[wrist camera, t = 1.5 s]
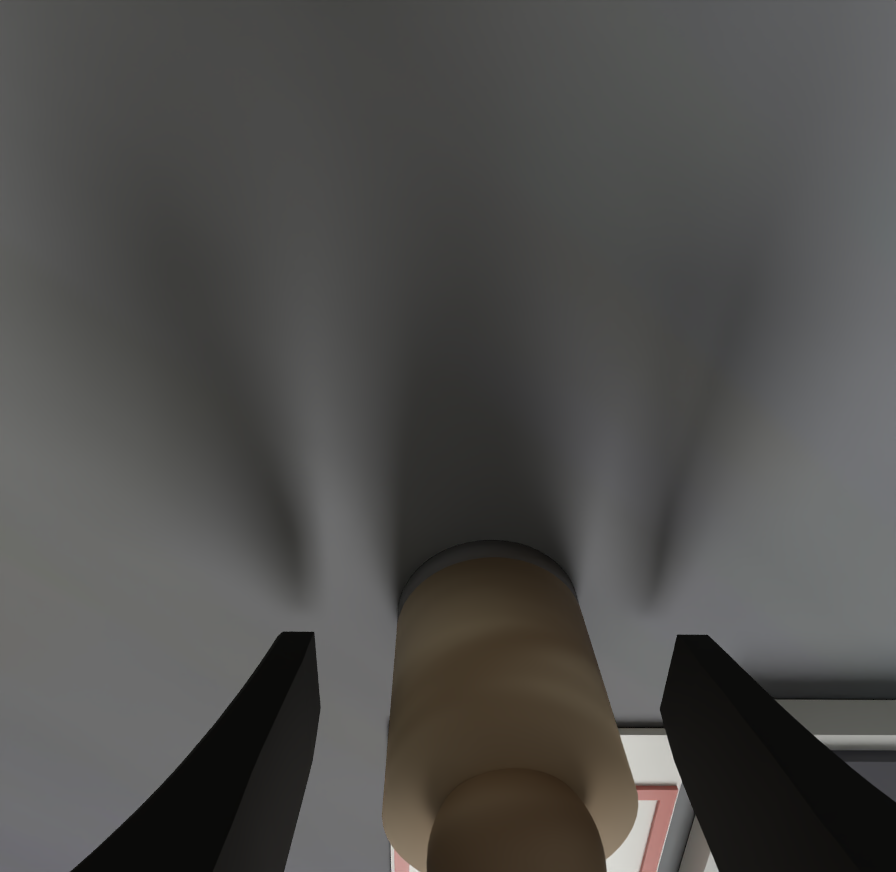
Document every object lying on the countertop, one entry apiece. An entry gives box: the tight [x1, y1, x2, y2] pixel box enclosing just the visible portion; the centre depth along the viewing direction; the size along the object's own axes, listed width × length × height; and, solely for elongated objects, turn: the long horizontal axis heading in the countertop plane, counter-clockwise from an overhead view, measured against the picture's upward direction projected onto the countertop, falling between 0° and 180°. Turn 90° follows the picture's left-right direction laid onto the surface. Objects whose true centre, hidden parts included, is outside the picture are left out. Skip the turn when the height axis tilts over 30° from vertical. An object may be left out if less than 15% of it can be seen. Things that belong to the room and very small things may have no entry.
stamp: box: [382, 540, 638, 872], centre depth 11 cm, size 4×4×7 cm
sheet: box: [391, 728, 682, 872], centre depth 17 cm, size 8×10×1 cm
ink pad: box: [679, 700, 896, 872], centre depth 16 cm, size 7×9×1 cm
